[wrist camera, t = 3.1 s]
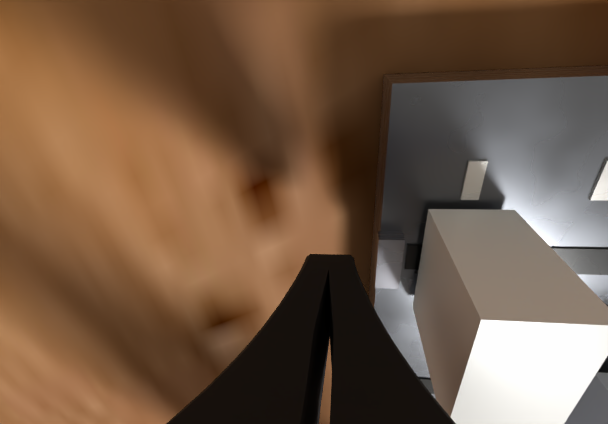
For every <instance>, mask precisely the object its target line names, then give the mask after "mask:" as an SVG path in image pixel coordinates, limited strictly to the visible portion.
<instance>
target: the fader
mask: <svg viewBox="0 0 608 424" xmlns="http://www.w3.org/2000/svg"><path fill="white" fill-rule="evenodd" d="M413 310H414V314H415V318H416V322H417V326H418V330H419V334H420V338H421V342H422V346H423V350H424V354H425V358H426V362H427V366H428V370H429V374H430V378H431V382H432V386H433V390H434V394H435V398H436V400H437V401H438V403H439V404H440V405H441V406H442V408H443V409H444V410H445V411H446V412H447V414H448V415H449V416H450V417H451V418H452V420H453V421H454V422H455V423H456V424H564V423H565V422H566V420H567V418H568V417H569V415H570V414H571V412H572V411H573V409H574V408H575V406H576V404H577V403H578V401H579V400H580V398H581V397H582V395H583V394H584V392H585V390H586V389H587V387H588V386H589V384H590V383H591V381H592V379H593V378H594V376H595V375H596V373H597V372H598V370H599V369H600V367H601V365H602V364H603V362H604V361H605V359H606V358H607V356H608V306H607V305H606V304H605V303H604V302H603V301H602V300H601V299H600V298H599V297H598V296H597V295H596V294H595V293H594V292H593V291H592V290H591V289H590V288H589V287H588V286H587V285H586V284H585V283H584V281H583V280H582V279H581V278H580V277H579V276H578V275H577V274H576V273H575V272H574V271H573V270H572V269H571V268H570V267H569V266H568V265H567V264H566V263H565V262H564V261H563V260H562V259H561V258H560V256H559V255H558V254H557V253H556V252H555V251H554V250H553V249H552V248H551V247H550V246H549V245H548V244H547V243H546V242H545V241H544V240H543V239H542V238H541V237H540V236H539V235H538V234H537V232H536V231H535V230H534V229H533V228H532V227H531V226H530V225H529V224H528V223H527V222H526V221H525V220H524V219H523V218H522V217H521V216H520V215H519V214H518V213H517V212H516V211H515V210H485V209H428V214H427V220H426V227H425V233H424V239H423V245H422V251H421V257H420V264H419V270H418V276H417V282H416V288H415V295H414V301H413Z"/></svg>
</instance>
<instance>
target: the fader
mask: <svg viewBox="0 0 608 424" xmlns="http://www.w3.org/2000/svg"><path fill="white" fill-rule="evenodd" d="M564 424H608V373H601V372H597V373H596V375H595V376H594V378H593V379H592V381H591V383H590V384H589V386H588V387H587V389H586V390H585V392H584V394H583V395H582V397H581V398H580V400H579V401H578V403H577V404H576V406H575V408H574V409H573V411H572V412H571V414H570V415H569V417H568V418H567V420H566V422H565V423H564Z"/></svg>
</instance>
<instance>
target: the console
mask: <svg viewBox="0 0 608 424" xmlns="http://www.w3.org/2000/svg"><path fill="white" fill-rule="evenodd" d="M428 209H485V210H515V211H516V212H517V213H518V214H519V215H520V216H521V217H522V218H523V219H524V220H525V221H526V222H527V223H528V224H529V225H530V226H531V227H532V228H533V229H534V230H535V231H536V232H537V234H538V235H539V236H540V237H541V238H542V239H543V240H544V241H545V242H546V243H547V244H548V245H549V246H550V247H551V248H552V249H553V250H554V251H555V252H556V253H557V254H558V255H559V256H560V258H561V259H562V260H563V261H564V262H565V263H566V264H567V265H568V266H569V267H570V268H571V269H572V270H573V271H574V272H575V273H576V274H577V275H578V276H579V277H580V278H581V279H582V280H583V281H584V283H585V284H586V285H587V286H588V287H589V288H590V289H591V290H592V291H593V292H594V293H595V294H596V295H597V296H598V297H599V298H600V299H601V300H602V301H603V302H604V303H605V304H606V305H607V306H608V65H605V66H580V67H555V68H531V69H506V70H481V71H456V72H432V73H407V74H384V77H383V92H382V107H381V122H380V137H379V151H378V166H377V181H376V196H375V211H374V226H373V241H372V256H371V270H370V285H369V299H370V301H371V303H372V305H373V307H374V309H375V311H376V313H377V315H378V316H379V318H380V320H381V322H382V323H383V325H384V327H385V328H386V330H387V332H388V333H389V335H390V337H391V338H392V340H393V341H394V343H395V345H396V346H397V348H398V349H399V351H400V352H401V354H402V355H403V356H404V358H405V359H406V361H407V362H408V364H409V365H410V366H411V368H412V369H413V371H414V372H415V373H416V375H417V376H418V377H419V379H420V380H421V381H422V383H423V384H424V385H425V387H426V388H427V389H428V391H429V392H430V393H431V394H432V395H433V397H434V398H435V394H434V390H433V386H432V382H431V378H430V374H429V370H428V366H427V362H426V358H425V354H424V350H423V346H422V342H421V338H420V334H419V330H418V326H417V322H416V318H415V314H414V310H413V301H414V295H415V288H416V282H417V276H418V270H419V264H420V257H421V251H422V245H423V239H424V233H425V227H426V220H427V214H428ZM598 372H601V373H608V356H607V358H606V359H605V361H604V362H603V364H602V365H601V367H600V369H599V370H598ZM435 399H436V398H435Z"/></svg>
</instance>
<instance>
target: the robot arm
mask: <svg viewBox="0 0 608 424" xmlns="http://www.w3.org/2000/svg"><path fill="white" fill-rule="evenodd" d="M329 338H330V345H331V362H332V388H331V410H330V424H456V423H455V422H454V421H453V420H452V418H451V417H450V416H449V415H448V414H447V412H446V411H445V410H444V409H443V408H442V406H441V405H440V404H439V403H438V401H437V400H436V399H435V398H434V397H433V395H432V394H431V393H430V392H429V391H428V389H427V388H426V387H425V385H424V384H423V383H422V381H421V380H420V379H419V377H418V376H417V375H416V373H415V372H414V371H413V369H412V368H411V366H410V365H409V364H408V362H407V361H406V359H405V358H404V356H403V355H402V354H401V352H400V351H399V349H398V348H397V346H396V345H395V343H394V341H393V340H392V338H391V337H390V335H389V333H388V332H387V330H386V328H385V327H384V325H383V323H382V322H381V320H380V318H379V316H378V315H377V313H376V311H375V309H374V307H373V305H372V303H371V301H370V299H369V297H368V295H367V293H366V291H365V289H364V287H363V284H362V282H361V280H360V277H359V275H358V272H357V269H356V266H355V262H354V258H353V257H352V256H351V255H328V254H310V255H309V256H307V258H306V260H305V262H304V264H303V266H302V268H301V270H300V272H299V274H298V276H297V277H296V279H295V281H294V283H293V284H292V286H291V287H290V289H289V290H288V292H287V294H286V295H285V297H284V298H283V300H282V301H281V303H280V304H279V306H278V307H277V308H276V310H275V311H274V312H273V314H272V315H271V316H270V318H269V319H268V321H267V322H266V323H265V325H264V326H263V327H262V328H261V330H260V331H259V332H258V333H257V335H256V336H255V337H254V338H253V339H252V341H251V342H250V343H249V344H248V345H247V346H246V347H245V349H244V350H243V351H242V352H241V353H240V354H239V355H238V356H237V357H236V359H235V360H234V361H233V362H232V363H231V364H230V365H229V366H228V367H227V368H226V369H225V370H224V371H223V372H222V373H221V374H220V375H219V376H218V377H217V378H216V379H215V380H214V381H213V382H212V383H211V384H210V385H209V386H208V387H207V388H206V389H205V390H204V391H203V392H201V393H200V394H199V395H198V396H197V397H196V398H195V399H194V400H192V401H191V402H190V403H189V404H188V405H187V406H186V407H185V408H184V409H182V410H181V411H180V412H179V413H178V414H177V415H176V416H175V417H173V418H172V419H171V420H170V421H169V422H168V423H167V424H319V415H320V406H321V398H322V391H323V383H324V376H325V368H326V361H327V353H328V346H329Z"/></svg>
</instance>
